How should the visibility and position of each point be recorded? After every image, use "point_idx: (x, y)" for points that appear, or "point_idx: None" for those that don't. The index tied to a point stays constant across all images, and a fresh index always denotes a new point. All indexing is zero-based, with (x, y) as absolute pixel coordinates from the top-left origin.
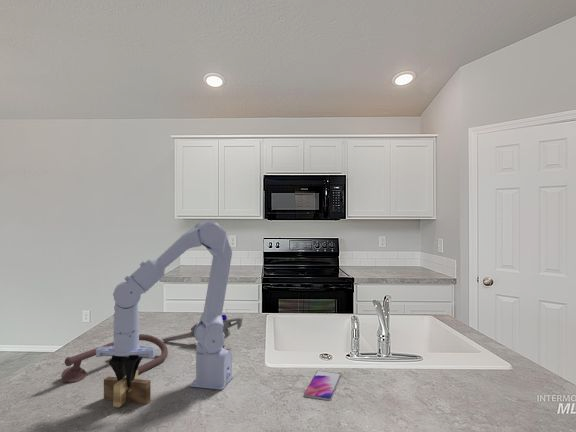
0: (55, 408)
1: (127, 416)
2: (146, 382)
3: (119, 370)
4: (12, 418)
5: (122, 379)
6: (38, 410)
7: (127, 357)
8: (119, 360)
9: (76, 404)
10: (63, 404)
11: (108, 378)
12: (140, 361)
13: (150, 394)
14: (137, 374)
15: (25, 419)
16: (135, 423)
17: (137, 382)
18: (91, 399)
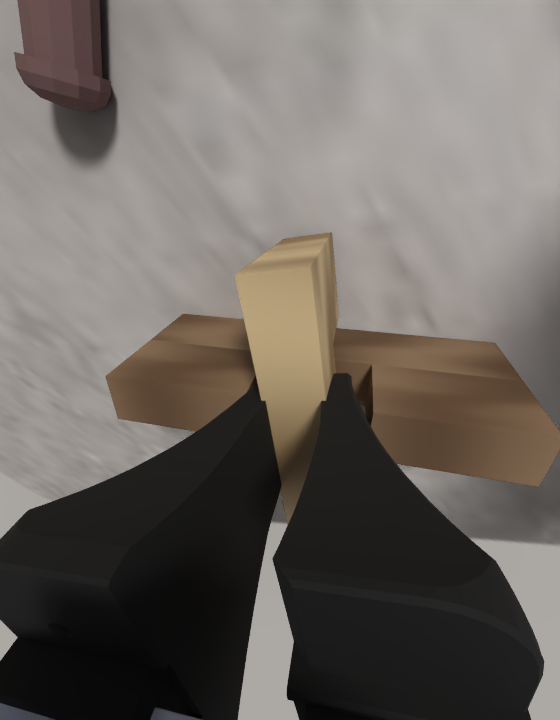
0: (65, 421)
1: (420, 476)
2: (533, 473)
3: (257, 579)
4: (14, 469)
5: (292, 480)
6: (28, 432)
7: (174, 546)
8: (210, 712)
9: (109, 393)
10: (60, 394)
11: (138, 406)
12: (433, 506)
13: (511, 366)
14: (318, 278)
15: (55, 475)
16: (489, 520)
17: (434, 468)
18: (128, 350)
